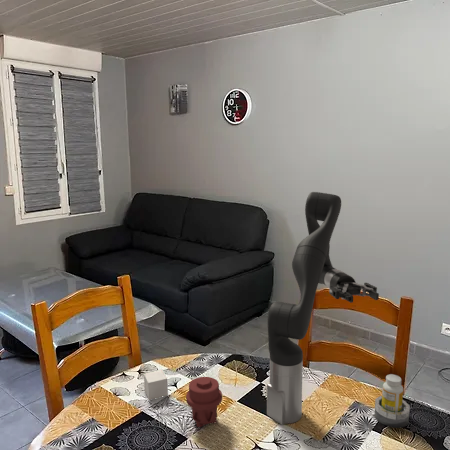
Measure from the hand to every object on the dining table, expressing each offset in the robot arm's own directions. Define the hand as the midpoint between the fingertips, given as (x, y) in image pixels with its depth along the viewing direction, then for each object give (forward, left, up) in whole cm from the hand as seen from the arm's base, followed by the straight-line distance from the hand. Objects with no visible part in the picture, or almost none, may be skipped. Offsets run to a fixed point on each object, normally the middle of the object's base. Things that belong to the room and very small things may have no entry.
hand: (364, 298), depth 129 cm
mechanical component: (-48, +18, -30) cm, 60 cm away
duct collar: (-6, -14, -30) cm, 34 cm away
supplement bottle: (-6, -14, -28) cm, 32 cm away
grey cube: (-52, +39, -30) cm, 72 cm away
